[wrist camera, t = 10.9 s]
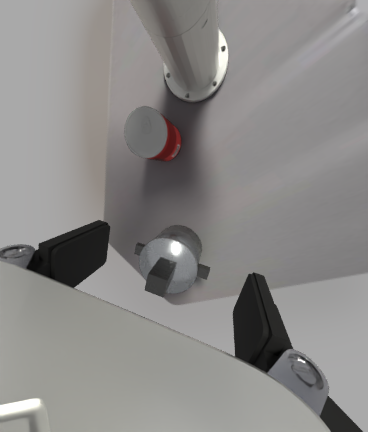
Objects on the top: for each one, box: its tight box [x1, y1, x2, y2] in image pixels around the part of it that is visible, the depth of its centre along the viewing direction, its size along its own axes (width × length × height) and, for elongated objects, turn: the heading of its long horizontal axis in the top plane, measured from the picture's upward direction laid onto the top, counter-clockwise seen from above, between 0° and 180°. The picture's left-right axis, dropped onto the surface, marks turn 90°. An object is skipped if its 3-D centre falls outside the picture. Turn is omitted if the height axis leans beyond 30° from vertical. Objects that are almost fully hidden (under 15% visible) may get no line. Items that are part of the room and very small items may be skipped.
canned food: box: [124, 106, 181, 161], centre depth 33 cm, size 8×8×11 cm
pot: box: [135, 225, 210, 280], centre depth 40 cm, size 12×17×9 cm
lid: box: [139, 237, 198, 297], centre depth 33 cm, size 13×13×7 cm
